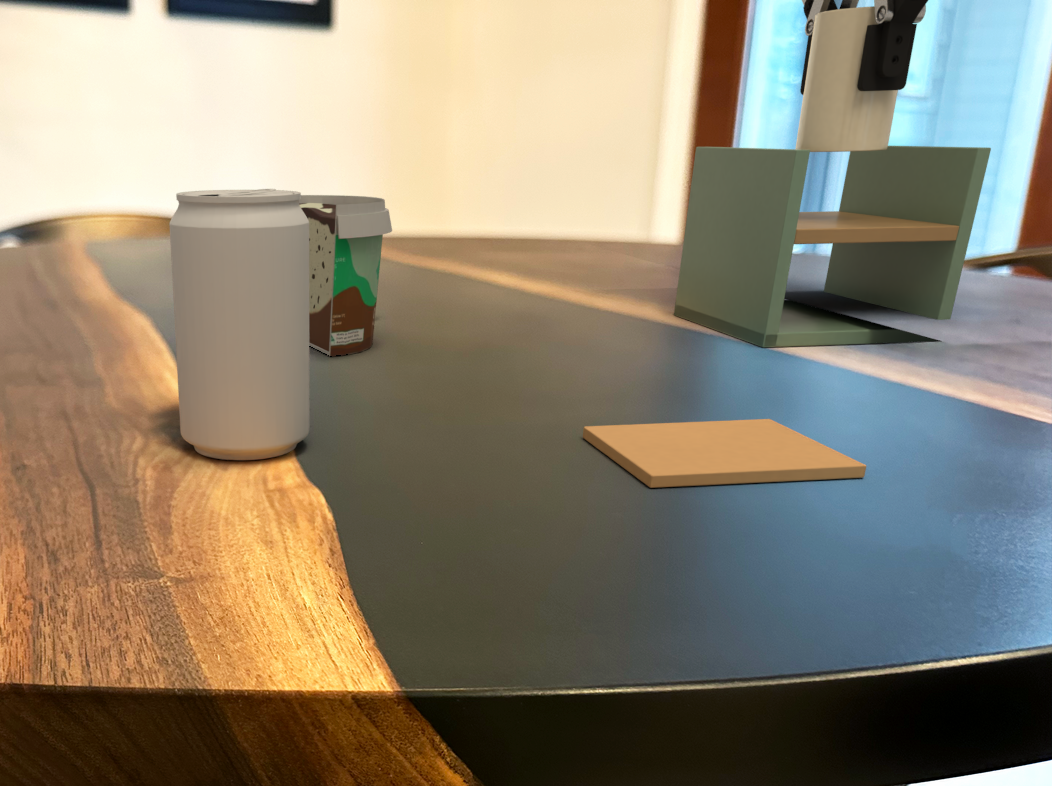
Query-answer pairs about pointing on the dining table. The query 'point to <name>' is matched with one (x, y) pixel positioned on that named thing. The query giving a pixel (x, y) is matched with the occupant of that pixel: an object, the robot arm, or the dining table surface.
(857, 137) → the cream cylinder
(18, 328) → the dining table surface
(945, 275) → the rack
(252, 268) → the beverage can
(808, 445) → the mat
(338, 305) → the food container
